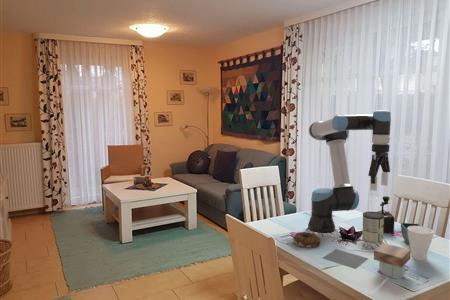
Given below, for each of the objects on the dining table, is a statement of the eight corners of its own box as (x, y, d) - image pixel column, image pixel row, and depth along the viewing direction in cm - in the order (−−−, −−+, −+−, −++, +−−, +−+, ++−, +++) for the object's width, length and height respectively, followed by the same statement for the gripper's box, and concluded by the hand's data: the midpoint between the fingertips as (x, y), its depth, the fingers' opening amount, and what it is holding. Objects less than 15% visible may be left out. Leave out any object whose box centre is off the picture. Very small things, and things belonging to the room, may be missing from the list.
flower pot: (423, 246, 171) (424, 229, 170) (404, 245, 173) (405, 228, 172) (417, 239, 179) (418, 223, 178) (399, 238, 181) (400, 222, 180)
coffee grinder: (395, 233, 188) (397, 202, 186) (374, 232, 190) (375, 201, 188) (387, 224, 204) (388, 195, 201) (368, 223, 206) (369, 194, 204)
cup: (431, 264, 151) (433, 235, 150) (405, 259, 157) (406, 231, 155) (432, 255, 160) (433, 228, 158) (406, 251, 166) (408, 224, 164)
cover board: (373, 259, 144) (374, 250, 143) (383, 251, 151) (383, 242, 151) (401, 267, 136) (402, 258, 135) (410, 258, 144) (410, 249, 143)
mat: (322, 259, 158) (322, 258, 158) (336, 250, 168) (336, 248, 168) (355, 270, 147) (355, 268, 147) (368, 259, 157) (368, 258, 157)
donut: (288, 244, 176) (288, 235, 176) (302, 237, 186) (302, 228, 185) (312, 252, 166) (312, 242, 166) (326, 244, 176) (326, 234, 175)
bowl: (376, 272, 144) (377, 259, 143) (384, 265, 151) (384, 252, 150) (399, 280, 138) (399, 266, 137) (406, 272, 144) (407, 258, 144)
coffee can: (361, 235, 187) (362, 210, 185) (381, 237, 183) (383, 212, 182) (362, 242, 177) (363, 216, 175) (384, 244, 174) (385, 218, 172)
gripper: (378, 146, 148) (377, 193, 151) (398, 141, 166) (396, 184, 168) (361, 145, 154) (360, 191, 156) (382, 141, 171) (380, 182, 174)
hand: (378, 187), depth 162 cm, fingers open, 13 cm apart
